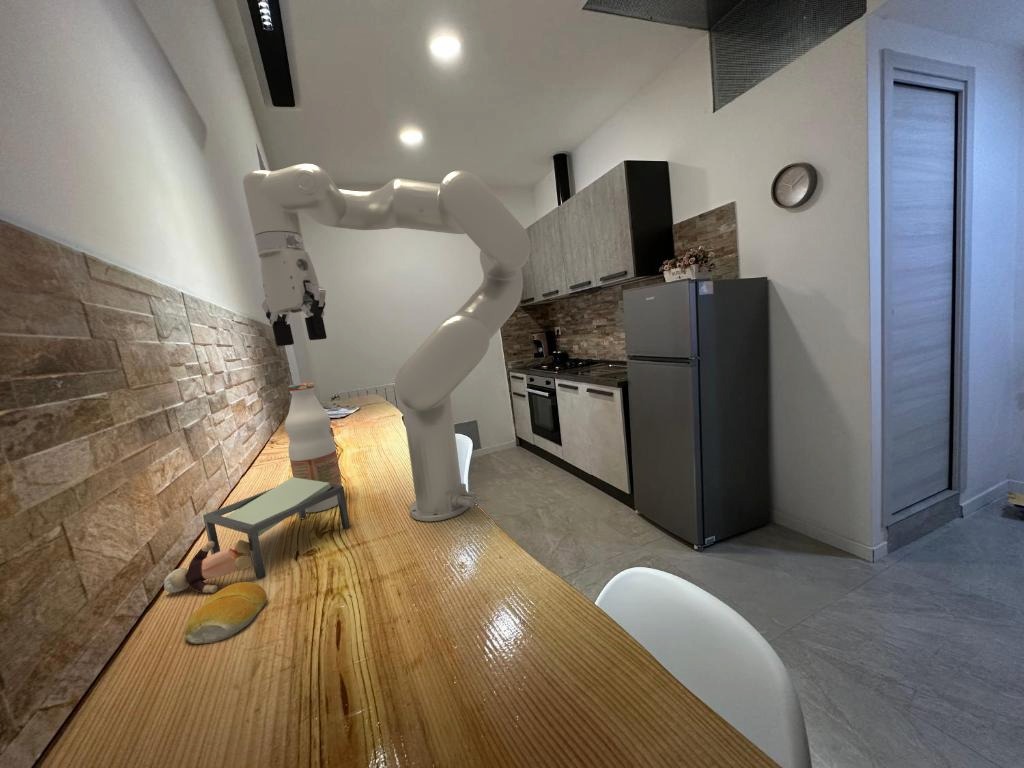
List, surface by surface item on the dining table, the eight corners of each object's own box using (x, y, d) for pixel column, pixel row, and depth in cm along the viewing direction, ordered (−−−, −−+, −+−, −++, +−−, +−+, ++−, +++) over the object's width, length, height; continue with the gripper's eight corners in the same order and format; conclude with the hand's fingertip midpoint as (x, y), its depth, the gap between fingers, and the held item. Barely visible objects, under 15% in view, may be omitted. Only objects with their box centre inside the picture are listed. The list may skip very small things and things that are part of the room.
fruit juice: (293, 517, 83) (269, 389, 80) (306, 500, 92) (285, 384, 89) (339, 508, 85) (318, 383, 82) (347, 492, 94) (329, 379, 91)
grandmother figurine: (231, 574, 56) (150, 609, 56) (251, 578, 59) (175, 612, 59) (236, 524, 61) (162, 556, 61) (255, 530, 64) (184, 561, 64)
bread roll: (276, 593, 57) (272, 568, 57) (243, 639, 49) (237, 610, 48) (216, 603, 56) (211, 577, 56) (171, 652, 48) (164, 622, 47)
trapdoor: (334, 496, 74) (329, 482, 74) (263, 546, 63) (256, 531, 62) (297, 489, 80) (292, 477, 80) (226, 534, 69) (219, 520, 68)
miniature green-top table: (350, 527, 76) (343, 486, 75) (259, 579, 61) (249, 528, 60) (303, 516, 83) (296, 478, 82) (212, 560, 68) (202, 515, 67)
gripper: (330, 239, 69) (349, 335, 71) (273, 260, 77) (292, 345, 79) (290, 233, 62) (312, 338, 65) (233, 256, 70) (254, 349, 73)
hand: (301, 342), depth 72 cm, fingers open, 9 cm apart
